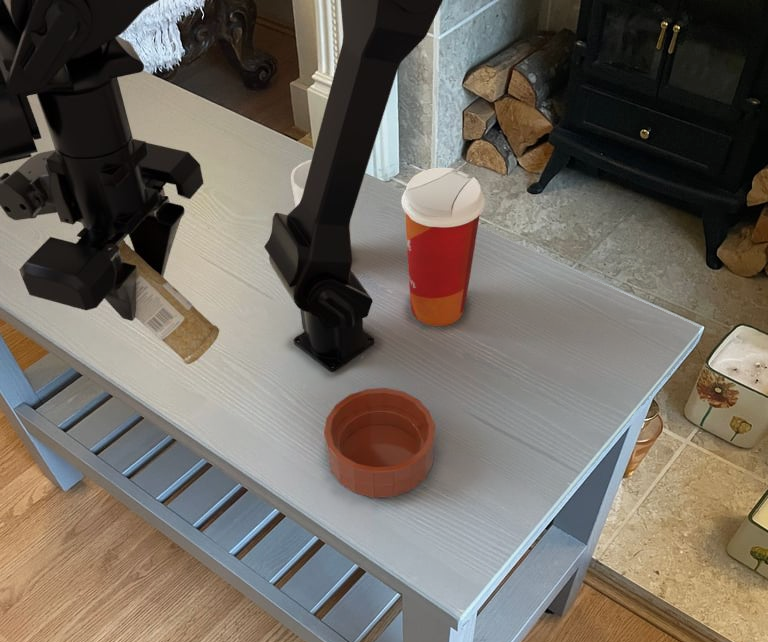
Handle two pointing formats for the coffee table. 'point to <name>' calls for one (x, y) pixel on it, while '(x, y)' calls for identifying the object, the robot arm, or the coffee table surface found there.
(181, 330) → the sprinkles bottle
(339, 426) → the bowl
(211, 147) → the coffee table surface
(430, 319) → the coffee cup
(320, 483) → the coffee table surface
